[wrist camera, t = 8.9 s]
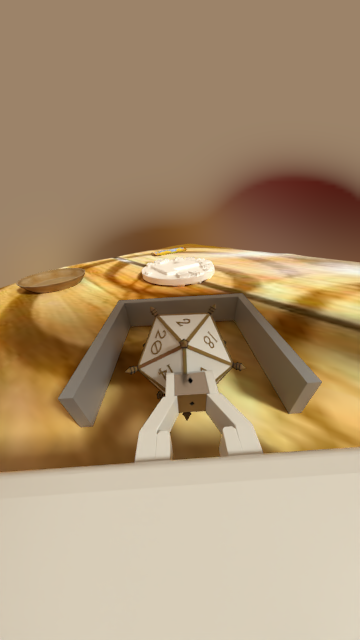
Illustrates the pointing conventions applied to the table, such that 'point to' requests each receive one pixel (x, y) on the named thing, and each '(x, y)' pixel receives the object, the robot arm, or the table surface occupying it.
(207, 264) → the embossed medallion
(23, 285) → the plant saucer
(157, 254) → the candy bar
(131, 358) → the table surface
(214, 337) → the game die
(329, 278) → the table surface
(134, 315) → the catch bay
